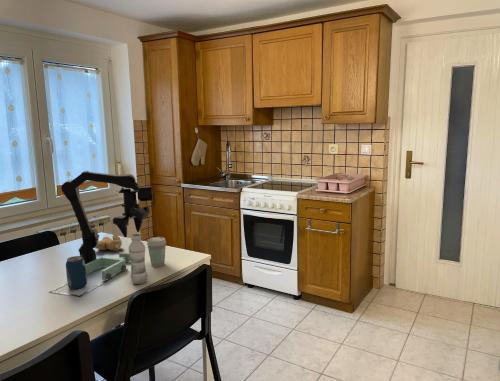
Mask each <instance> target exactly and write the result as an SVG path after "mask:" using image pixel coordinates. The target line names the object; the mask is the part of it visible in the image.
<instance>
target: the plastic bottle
mask: <svg viewBox="0 0 500 381" xmlns="http://www.w3.org/2000/svg"><path fill="white" fill-rule="evenodd" d="M130 238H131V239H130V240H131V242H130V244H129V246H128V253H129V254H130V259H131V261H130V266H131V267H130V271H131V272H130V281H131V283H132V284H134V285H142V284H145V283H146V282H147V281H148V273H147V268H146V259H145V258H146V245H145V243H144V242H143V241H142V235H141V234H140V233H134V234H131V236H130Z"/></svg>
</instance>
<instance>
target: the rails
mask: <svg viewBox="0 0 500 381" xmlns="http://www.w3.org/2000/svg"><path fill="white" fill-rule="evenodd" d="M126 271H128V268H126V270H122V271H120V272H118V273H117V274H115V275H113V276H111V278H110V279H106V280H103V282H100V283H98V284H97V285H96V286H93V287H92V288H91V289H89V290H87V291H85V292H83V293H82V294H80V295H79V294H73V293H67V292H59V291H57V290H59V289H61V288H63V287H65V286H66V285H67V286H68V283H67V282H66V283H64V284H62V285H60V286H57V287H56V288H53V289H52V290H50V291H49V293H52V294H58V295H62V296H70V297H75V298H81V297H83V296H84V295H86V294H88V293H91V291H93V290H95V289H96V288H98V287H100V286H102V285H104V284H106V283H107V282H109V281H111V280H113V279H114V278H116V277H117V276H119V275H121V274H123V273H124V272H126Z"/></svg>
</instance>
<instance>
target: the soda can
mask: <svg viewBox="0 0 500 381" xmlns="http://www.w3.org/2000/svg"><path fill="white" fill-rule="evenodd" d="M65 270H66V281H67V282H66V283H68V284H67V287H68V289H70V291H80V290H83V289H84V288H86V285H87V284H88V279H87V275H86V268H85V261H84V259H83V257H82V256H80V255H76V256H70V257H68V258H67V259H66V262H65Z"/></svg>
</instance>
